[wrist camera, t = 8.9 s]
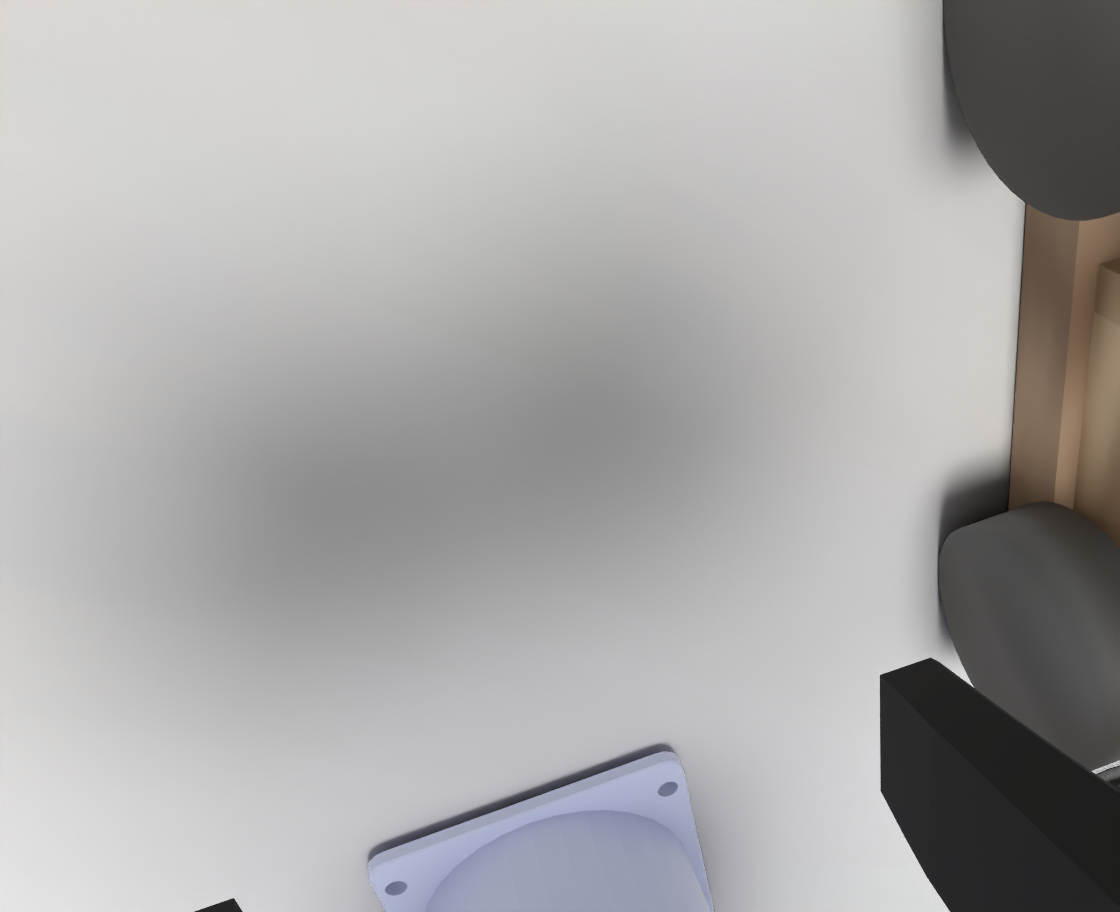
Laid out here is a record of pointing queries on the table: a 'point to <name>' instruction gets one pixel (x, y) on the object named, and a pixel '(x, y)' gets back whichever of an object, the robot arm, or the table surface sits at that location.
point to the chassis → (1050, 374)
